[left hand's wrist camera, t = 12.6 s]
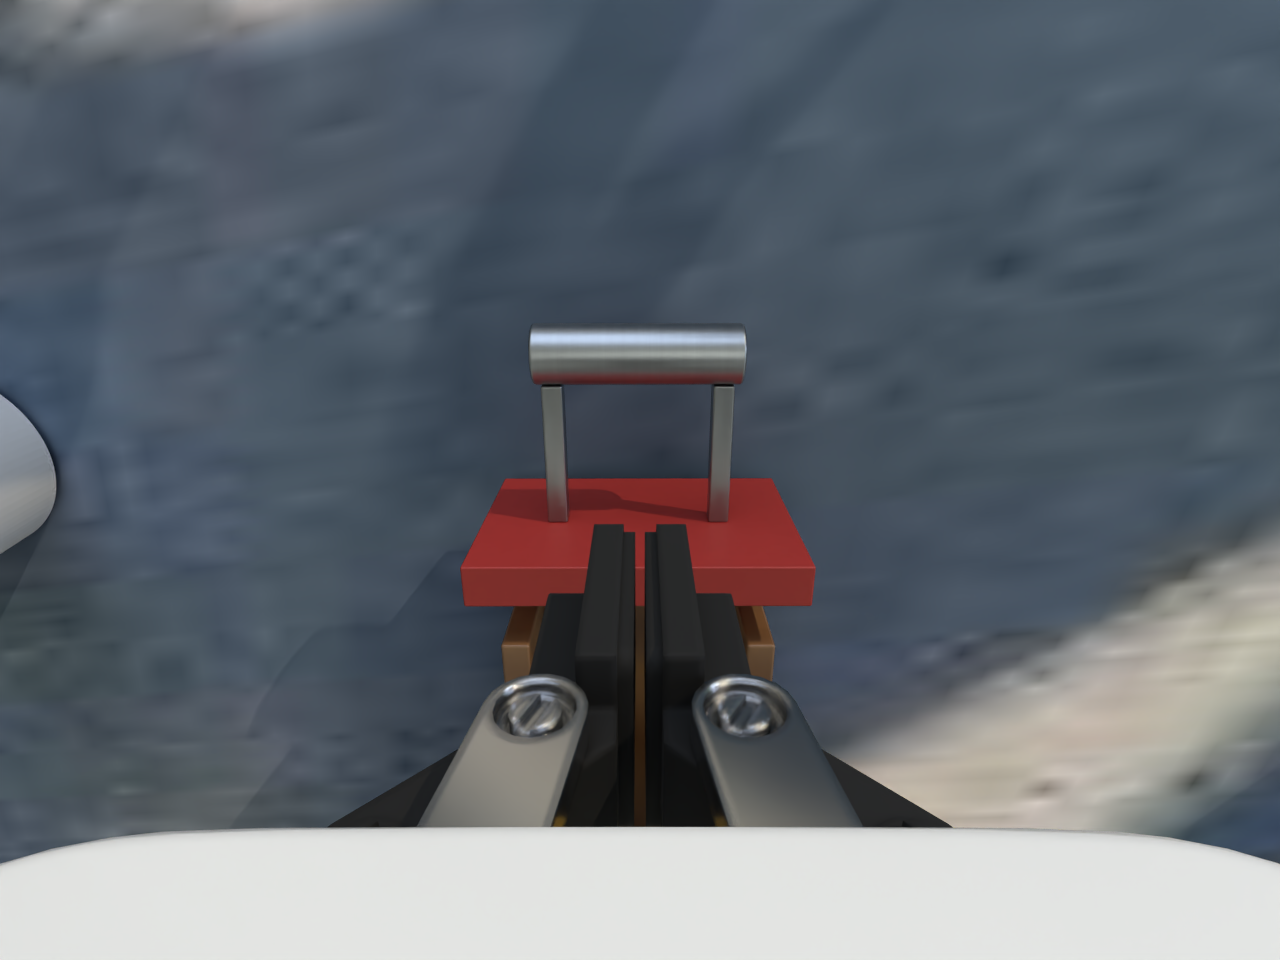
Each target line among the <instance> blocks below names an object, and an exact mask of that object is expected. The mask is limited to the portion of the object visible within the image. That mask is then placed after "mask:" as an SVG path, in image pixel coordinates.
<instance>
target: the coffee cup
mask: <svg viewBox="0 0 1280 960" xmlns="http://www.w3.org/2000/svg"><path fill="white" fill-rule="evenodd" d="M55 496H56V475H55V469H54V465H53V462H52V459H51V456H50V453H49V451H48V449H47V447H46V445H45V443H44V441H43V439H42V438H41V436H40V435H39V433H38V431H37V430H36V429H35V427H34V426H33V425H32V424H31V422H30V421H29V420H28V419H27V418H26V417H25V416H24V414H23V413H22V412H21V411H20V410H19V409H17V408H16V407H15V406H14V405H13V404H12V403H11V402H9V401H8V400H7V399H6V398H4V397H3V396H2V395H0V554H1V553H3V552H4V551H6V550H7V549H9V548H10V547H12V546H13V545H15V544H16V543H18V542H20V541H21V540H23V539H24V538H26V537H27V536H29V535H30V534H32V533H33V532H35V531H36V530H37V529H38V528H39V527H40V526H41V525H42V524H43V523H44V522H45V521H46V519H47V518H48V516H49V514H50V512H51V510H52V508H53V505H54V501H55Z"/></svg>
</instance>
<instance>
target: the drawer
mask: <svg viewBox="0 0 1280 960" xmlns="http://www.w3.org/2000/svg"><path fill="white" fill-rule="evenodd" d="M528 357H529V369H530V375H531V379H532V381H533V383H534V384H536V385H542V386H541V402H542V419H543V437H544V455H545V473H546V479H505V481H504V483H503V485H502V487H501V489H500V491H499V493H498V495H497V496H496V498H495V500H494V502H493V504H492V506H491V508H490V510H489V512H488V514H487V516H486V518H485V520H484V522H483V524H482V526H481V528H480V530H479V532H478V534H477V536H476V538H475V540H474V542H473V544H472V546H471V548H470V550H469V552H468V554H467V556H466V558H465V560H464V562H463V564H462V566H461V568H460V571H461V580H462V589H463V598H464V605H465V606H514V608H513V611H512V614H511V617H510V621H509V624H508V627H507V630H506V633H505V636H504V639H503V642H502V646H501V650H502V661H503V671H504V682H505V683H506V682H508V681H510V680H513V679H515V678H517V677H521V676H526V675H529V672H530V668H531V664H532V660H533V656H534V651H535V647H536V643H537V639H538V635H539V631H540V626H541V622H542V618H543V614H544V610H545V606H546V601H547V598H548V595H549V594H550V593H584V589H585V582H586V575H587V569H588V562H589V555H590V548H591V541H592V535H593V528H594V524H624V532H635V605H636V685H635V790H634V826H620V827H660V826H646V790H645V685H644V605H645V532H656V524H686V528H687V535H688V541H689V548H690V555H691V562H692V569H693V575H694V582H695V589H696V593H730V594H731V595H732V598H733V601H734V606H735V610H736V614H737V618H738V622H739V626H740V631H741V635H742V639H743V643H744V647H745V651H746V656H747V660H748V664H749V668H750V672H751V675H754V676H759V677H763V678H765V679H767V680H770V681H772V676H773V664H774V653H775V644H774V641H773V638H772V635H771V632H770V628H769V625H768V622H767V619H766V616H765V612H764V609H763V606H811V605H812V597H813V588H814V578H815V569H816V568H815V566H814V564H813V562H812V559H811V557H810V555H809V553H808V551H807V549H806V547H805V545H804V543H803V541H802V539H801V537H800V535H799V533H798V531H797V529H796V527H795V525H794V523H793V521H792V519H791V517H790V515H789V513H788V511H787V509H786V507H785V505H784V503H783V501H782V499H781V497H780V495H779V493H778V491H777V489H776V487H775V485H774V483H773V481H772V479H771V478H730V474H731V454H732V435H733V415H734V395H735V387H734V385H733V384H741V383H742V382H743V380H744V377H745V371H746V361H747V338H746V330H745V327H744V325H743V324H742V323H549V324H532V325H531V328H530V332H529V341H528ZM627 384H712V387H711V413H710V439H709V466H708V479H568V464H567V441H566V418H565V395H564V385H627Z"/></svg>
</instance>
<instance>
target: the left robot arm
mask: <svg viewBox="0 0 1280 960" xmlns="http://www.w3.org/2000/svg"><path fill="white" fill-rule="evenodd" d="M635 685H636V605H635V532H624V524H594V528H593V535H592V541H591V548H590V555H589V562H588V569H587V575H586V582H585V589H584V593H550V594H549V595H548V598H547V601H546V606H545V610H544V614H543V618H542V622H541V626H540V631H539V635H538V639H537V643H536V647H535V651H534V656H533V660H532V664H531V668H530V672H529V675H526V676H521V677H517V678H515V679H513V680H510V681H508V682H506V683H504V684H502V685H501V686H499V687H498V688H497V689H495V690H494V691H492V693H491V694H490V695H489V696H488V698H487V699H486V700H485V701H484V703H483V705H482V707H481V709H480V710H479V712H478V714H477V716H476V718H475V720H474V722H473V723H472V725H471V727H470V729H469V731H468V733H467V735H466V736H465V738H464V740H463V742H462V744H461V746H460V747H459V749H458V750H456V751H454V752H453V753H451V754H449V755H448V756H446V757H444V758H443V759H441V760H439V761H438V762H436V763H434V764H432V765H431V766H429V767H427V768H426V769H424V770H422V771H421V772H419V773H417V774H416V775H414V776H412V777H410V778H409V779H407V780H405V781H404V782H402V783H400V784H399V785H397V786H395V787H394V788H392V789H390V790H388V791H387V792H385V793H383V794H382V795H380V796H378V797H377V798H375V799H373V800H372V801H370V802H368V803H366V804H365V805H363V806H361V807H360V808H358V809H356V810H355V811H353V812H351V813H350V814H348V815H346V816H345V817H343V818H341V819H339V820H338V821H336V822H334V823H333V824H331V825H330V826H328V827H327V828H252V829H225V830H198V831H172V832H157V833H148V834H139V835H130V836H121V837H111V838H106V839H101V840H96V841H90V842H85V843H80V844H75V845H70V846H64V847H59V848H54V849H50V850H47V851H43V852H40V853H36V854H33V855H29V856H26V857H22V858H19V859H15V860H12V861H8V862H5V863H1V864H0V960H1280V864H1279V863H1275V862H1272V861H1268V860H1265V859H1261V858H1258V857H1254V856H1251V855H1247V854H1244V853H1240V852H1237V851H1233V850H1230V849H1226V848H1221V847H1216V846H1210V845H1205V844H1200V843H1195V842H1189V841H1184V840H1179V839H1174V838H1169V837H1159V836H1150V835H1141V834H1132V833H1123V832H1108V831H1082V830H1055V829H1028V828H953V827H952V826H950V825H949V824H947V823H946V822H944V821H942V820H941V819H939V818H937V817H935V816H934V815H932V814H930V813H929V812H927V811H925V810H924V809H922V808H920V807H919V806H917V805H915V804H914V803H912V802H910V801H908V800H907V799H905V798H903V797H902V796H900V795H898V794H897V793H895V792H893V791H892V790H890V789H888V788H886V787H885V786H883V785H881V784H880V783H878V782H876V781H875V780H873V779H871V778H870V777H868V776H866V775H864V774H863V773H861V772H859V771H858V770H856V769H854V768H853V767H851V766H849V765H848V764H846V763H844V762H842V761H841V760H839V759H837V758H836V757H834V756H832V755H831V754H829V753H827V752H826V751H824V750H822V749H821V747H820V746H819V744H818V742H817V740H816V738H815V736H814V735H813V733H812V731H811V729H810V727H809V725H808V723H807V722H806V720H805V718H804V716H803V714H802V712H801V710H800V709H799V707H798V705H797V703H796V701H795V700H794V699H793V698H792V696H791V695H790V694H789V693H788V691H786V690H785V689H783V688H782V687H781V686H779V685H778V684H776V683H774V682H772V681H770V680H767V679H765V678H763V677H759V676H754V675H751V672H750V668H749V664H748V660H747V656H746V651H745V647H744V643H743V639H742V635H741V631H740V626H739V622H738V618H737V614H736V610H735V606H734V601H733V598H732V595H731V594H730V593H696V589H695V582H694V575H693V569H692V562H691V555H690V548H689V541H688V535H687V528H686V524H656V532H645V605H644V685H645V790H646V826H660V827H620V826H634V790H635Z"/></svg>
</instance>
